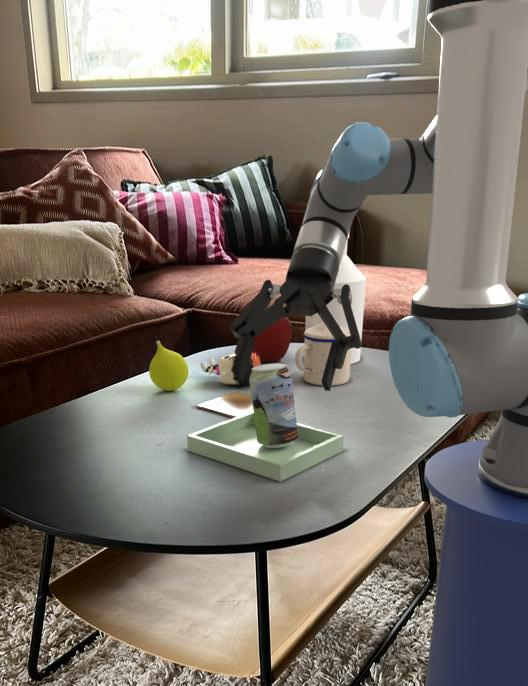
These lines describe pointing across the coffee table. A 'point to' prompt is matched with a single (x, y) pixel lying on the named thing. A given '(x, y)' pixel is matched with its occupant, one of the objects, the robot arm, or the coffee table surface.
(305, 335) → the teacup with lid
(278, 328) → the apple
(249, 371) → the figurine
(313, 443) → the tray
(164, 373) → the ornament
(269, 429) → the beverage can
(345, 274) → the bottle
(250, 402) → the coaster
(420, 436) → the coffee table surface
